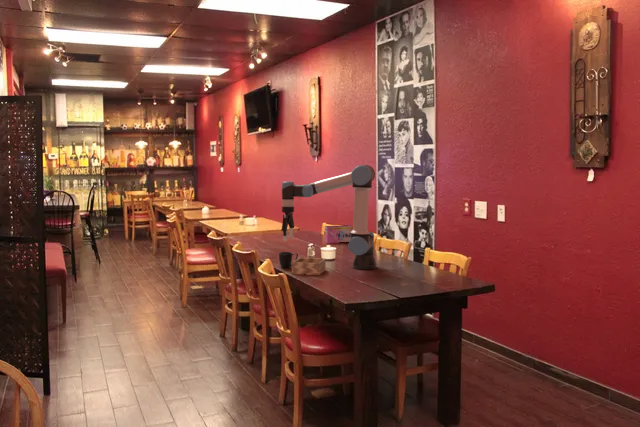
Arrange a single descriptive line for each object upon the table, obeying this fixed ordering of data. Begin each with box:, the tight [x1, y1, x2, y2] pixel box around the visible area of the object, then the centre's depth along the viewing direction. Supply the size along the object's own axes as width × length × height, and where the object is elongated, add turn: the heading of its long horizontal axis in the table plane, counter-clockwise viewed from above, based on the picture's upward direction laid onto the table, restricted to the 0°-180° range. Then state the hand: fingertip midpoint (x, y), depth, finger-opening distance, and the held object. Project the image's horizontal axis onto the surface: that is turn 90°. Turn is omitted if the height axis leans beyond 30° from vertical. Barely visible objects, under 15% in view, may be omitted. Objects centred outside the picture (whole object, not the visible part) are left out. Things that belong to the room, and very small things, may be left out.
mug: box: [278, 251, 299, 270], centre depth 373 cm, size 8×12×10 cm
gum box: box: [324, 224, 353, 244], centre depth 484 cm, size 24×8×14 cm, turn 105°
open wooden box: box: [291, 257, 327, 276], centre depth 359 cm, size 17×17×7 cm
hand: (288, 239), depth 372 cm, fingers open, 13 cm apart
